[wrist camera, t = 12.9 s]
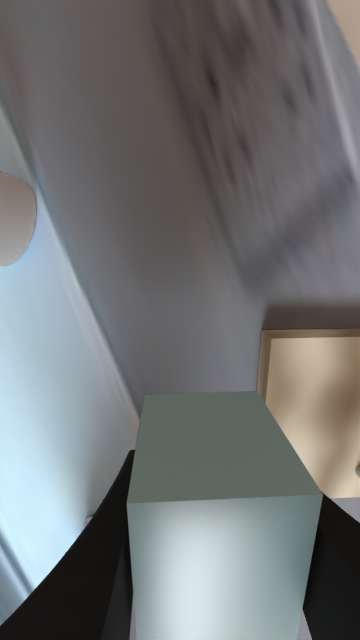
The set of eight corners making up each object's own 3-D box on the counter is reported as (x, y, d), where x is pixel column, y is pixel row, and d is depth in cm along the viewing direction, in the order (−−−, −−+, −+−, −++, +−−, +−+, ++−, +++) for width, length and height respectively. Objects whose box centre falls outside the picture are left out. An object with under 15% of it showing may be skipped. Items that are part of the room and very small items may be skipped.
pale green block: (149, 501, 13) (137, 654, 8) (144, 394, 11) (126, 503, 6) (248, 497, 13) (296, 643, 8) (257, 391, 11) (322, 494, 7)
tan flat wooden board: (249, 481, 24) (256, 501, 22) (261, 330, 20) (271, 338, 18) (371, 476, 25) (389, 495, 23) (407, 327, 21) (432, 335, 19)
